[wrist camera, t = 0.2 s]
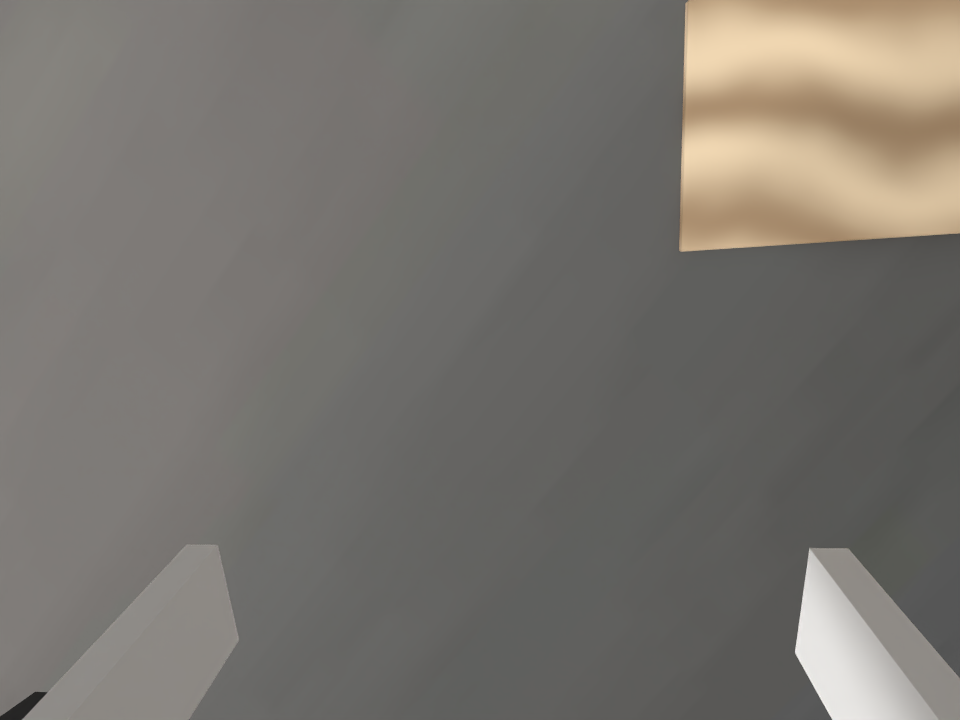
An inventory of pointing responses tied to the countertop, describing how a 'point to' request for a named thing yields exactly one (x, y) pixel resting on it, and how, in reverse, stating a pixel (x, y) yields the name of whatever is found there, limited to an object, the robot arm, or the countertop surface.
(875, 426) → the countertop surface
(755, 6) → the pad
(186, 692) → the robot arm
